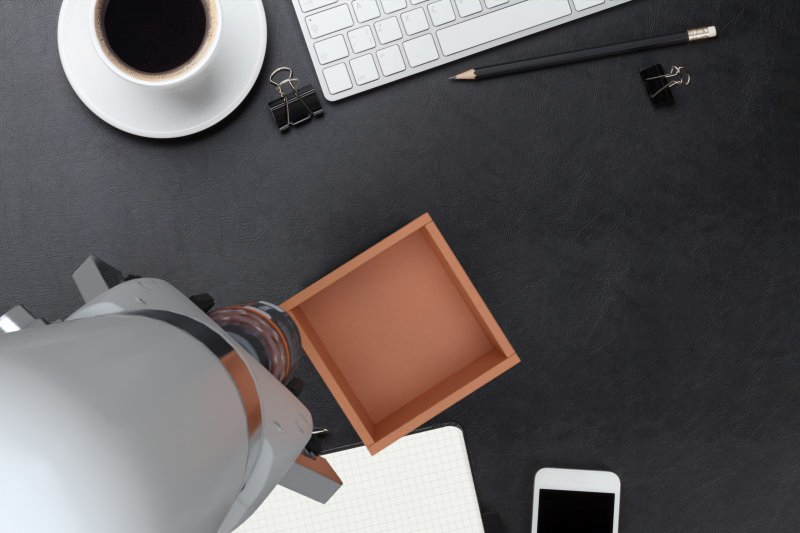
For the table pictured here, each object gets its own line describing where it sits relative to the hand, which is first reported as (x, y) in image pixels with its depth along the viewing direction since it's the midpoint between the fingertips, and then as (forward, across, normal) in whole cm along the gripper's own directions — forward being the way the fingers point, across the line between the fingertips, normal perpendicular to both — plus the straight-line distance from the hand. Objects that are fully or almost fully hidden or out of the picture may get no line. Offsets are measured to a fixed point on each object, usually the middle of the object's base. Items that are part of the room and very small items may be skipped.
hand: (237, 359), depth 42 cm
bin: (+18, +7, +7) cm, 20 cm away
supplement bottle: (+7, 0, 0) cm, 7 cm away
